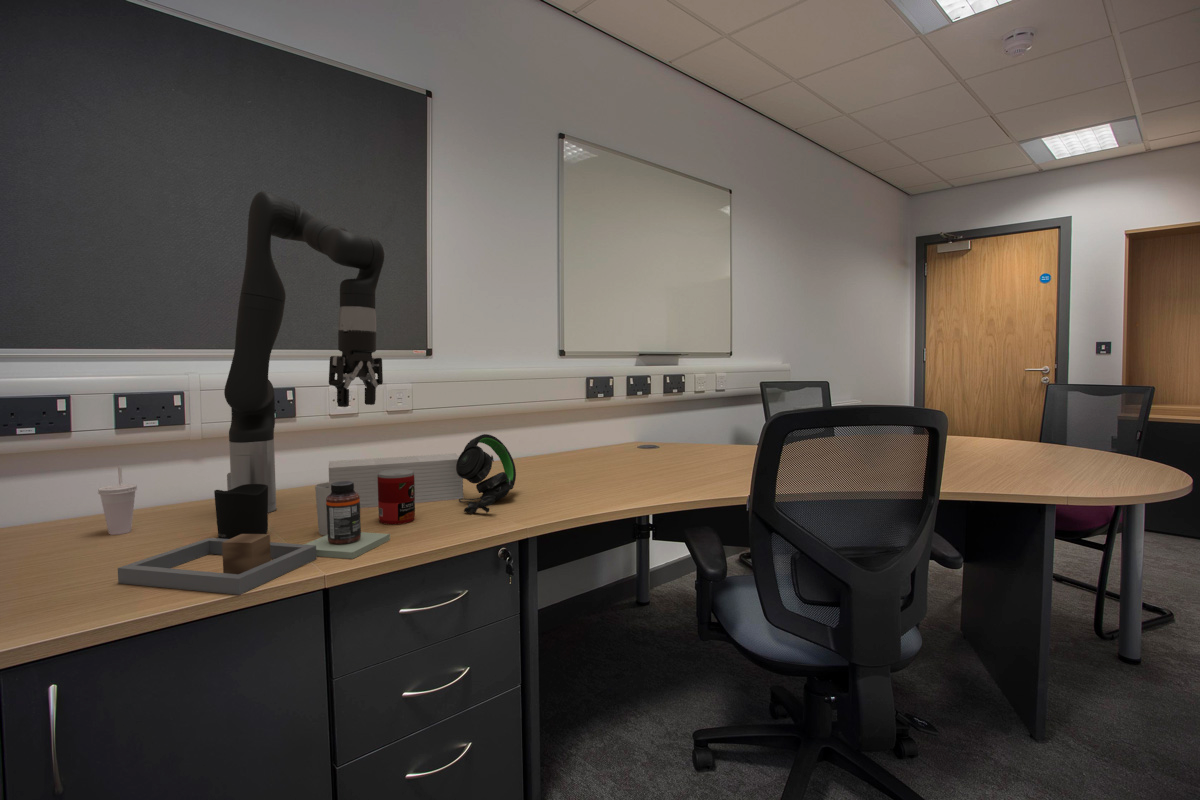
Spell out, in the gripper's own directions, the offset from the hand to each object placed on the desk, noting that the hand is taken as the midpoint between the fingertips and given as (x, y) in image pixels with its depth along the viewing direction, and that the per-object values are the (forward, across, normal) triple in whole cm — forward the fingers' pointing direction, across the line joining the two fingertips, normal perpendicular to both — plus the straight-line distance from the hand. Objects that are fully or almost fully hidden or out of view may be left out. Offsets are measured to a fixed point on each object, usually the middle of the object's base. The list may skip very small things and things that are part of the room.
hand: (356, 405), depth 127 cm
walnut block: (+27, +29, +1) cm, 39 cm away
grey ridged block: (+27, -25, -7) cm, 37 cm away
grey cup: (+27, +4, -2) cm, 27 cm away
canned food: (+26, -8, +5) cm, 28 cm away
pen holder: (+27, +12, -18) cm, 35 cm away
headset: (+26, -29, +18) cm, 43 cm away
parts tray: (+27, +29, -4) cm, 40 cm away
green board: (+26, +12, +7) cm, 30 cm away
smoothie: (+28, +16, -46) cm, 56 cm away
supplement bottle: (+25, +12, +7) cm, 29 cm away
